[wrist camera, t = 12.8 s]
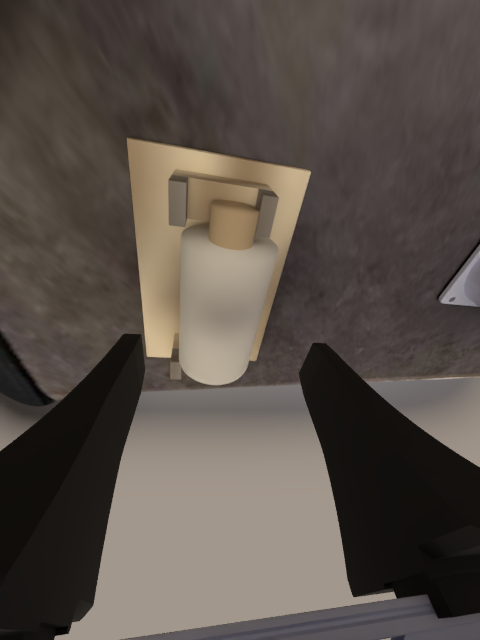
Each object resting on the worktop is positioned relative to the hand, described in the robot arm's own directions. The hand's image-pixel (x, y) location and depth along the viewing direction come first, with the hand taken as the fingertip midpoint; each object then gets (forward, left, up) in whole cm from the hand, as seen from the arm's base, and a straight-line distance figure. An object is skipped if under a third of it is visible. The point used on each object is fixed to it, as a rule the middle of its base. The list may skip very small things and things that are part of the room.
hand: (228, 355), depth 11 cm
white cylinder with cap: (+1, +2, -8) cm, 8 cm away
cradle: (+1, +2, -10) cm, 10 cm away
